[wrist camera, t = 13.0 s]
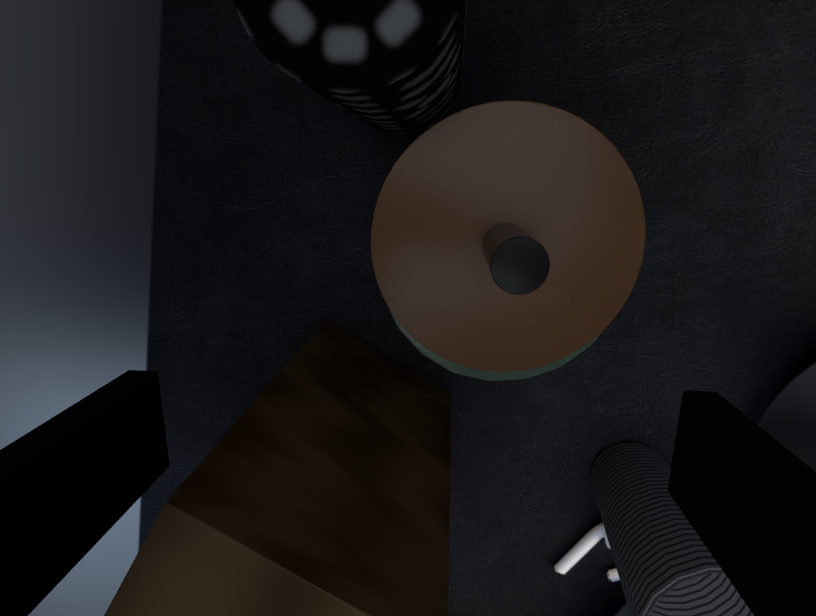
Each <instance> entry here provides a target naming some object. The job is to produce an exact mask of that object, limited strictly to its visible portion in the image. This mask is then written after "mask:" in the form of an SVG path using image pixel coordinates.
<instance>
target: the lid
mask: <svg viewBox="0 0 816 616" xmlns="http://www.w3.org/2000/svg"><path fill="white" fill-rule="evenodd" d="M645 229H646V223H645V215H644V207H643V202H642V199H641V195H640V191H639V188H638V185H637V183H636V181H635V178H634V176H633V174H632V171H631V169H630V168H629V166H628V165H627V163H626V161H625V160H624V158H623V156H622V155H621V154H620V152H619V151H618V150H617V149H616V148H615V146H614V145H613V144H612V143H611V142H610V140H609V139H607V138H606V137H605V136H604V135H603V134H602V133H601V132H600V131H599V130H597V129H596V128H595V127H594V126H592V125H591V124H589V123H588V122H586V121H585V120H583V119H582V118H580V117H578V116H576V115H574V114H572V113H569V112H567V111H565V110H563V109H560V108H557V107H554V106H550V105H547V104H543V103H537V102H531V101H518V100H505V101H496V102H488V103H484V104H480V105H476V106H472V107H468V108H466V109H464V110H461V111H459V112H456V113H454V114H451V115H449V116H448V117H446V118H444V119H442V120H441V121H439V122H437V123H435V124H434V125H433V126H431V127H430V128H429V129H427V130H426V131H425V132H423V133H422V134H421V135H419V136H418V137H417V138H416V139H415V140H414V141H413V142H412V143H411V144H410V145H409V146H408V147H407V148H406V149H405V151H404V152H403V153H402V155H401V156H400V157H399V159H398V160H397V161H396V162H395V164H394V165H393V167H392V169H391V171H390V172H389V174H388V176H387V177H386V179H385V181H384V184H383V186H382V188H381V191H380V193H379V196H378V199H377V202H376V206H375V210H374V213H373V220H372V227H371V254H372V263H373V268H374V272H375V276H376V280H377V283H378V286H379V288H380V291H381V293H382V296H383V298H384V300H385V302H386V303H387V305H388V307H389V309H390V311H391V312H392V314H393V315H394V316H395V318H396V319H397V320H398V322H399V323H400V324H401V326H402V327H403V328H404V329H405V330H406V331H407V332H408V333H409V334H410V335H411V336H412V337H413V338H414V339H415V340H417V341H418V342H419V343H420V344H422V345H423V346H424V347H425V348H427V349H429V350H430V351H432V352H433V353H435V354H437V355H438V356H440V357H442V358H445V359H447V360H449V361H451V362H453V363H456V364H459V365H462V366H466V367H469V368H473V369H479V370H484V371H496V372H510V371H522V370H527V369H533V368H538V367H541V366H544V365H547V364H551V363H554V362H556V361H558V360H560V359H562V358H565V357H567V356H569V355H571V354H572V353H574V352H576V351H577V350H579V349H581V348H582V347H584V346H585V345H587V344H588V343H589V342H590V341H592V340H593V339H594V338H596V337H597V336H598V335H599V334H600V333H601V332H602V331H603V330H604V329H605V328H606V327H607V326H608V325H609V324H610V323H611V322H612V320H613V319H614V318H615V317H616V315H617V314H618V313H619V311H620V310H621V309H622V307H623V305H624V304H625V302H626V300H627V299H628V297H629V295H630V294H631V291H632V289H633V287H634V284H635V282H636V280H637V278H638V274H639V271H640V267H641V264H642V260H643V254H644V247H645Z"/></svg>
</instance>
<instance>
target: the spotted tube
mask: <svg viewBox="0 0 816 616" xmlns="http://www.w3.org/2000/svg"><path fill="white" fill-rule="evenodd" d="M233 2H234V5H235V8H236V11H237V13H238V15H239V17H240V19H241V21H242V23H243V25H244V27H245V29H246V31H247V33H248V35H249V36H250V38H251V39H252V40H253V42H254V43H255V44H256V46H257V47H258V48H259V50H260V51H261V52H262V54H263V55H264V56H265V57H267V58H268V59H269V60H270V61H271V62H272V63H273V64H274V65H275V66H276V67H277V68H278V69H280V70H281V71H282V72H284V73H286V74H287V75H289V76H290V77H292V78H294V79H295V80H297V81H299V82H300V83H302V84H304V85H305V86H307V87H309V88H310V89H312V90H314V91H315V92H317V93H319V94H320V95H322V96H324V97H325V98H327V99H329V100H330V101H332V102H333V103H335V104H337V105H338V106H340V107H342V108H343V109H345V110H347V111H348V112H350V113H352V114H353V115H355V116H357V117H358V118H360V119H362V120H363V121H365V122H367V123H368V124H370V125H372V126H373V127H375V128H377V129H378V130H380V131H383V132H386V133H389V134H393V135H400V136H404V135H414V134H417V133H421V132H424V131H426V130H427V129H429V128H430V127H431V126H433V125H434V124H435V123H437V122H439V121H441V120H442V119H443V118H444V117H445V116H446V115H447V113H448V112H449V111H450V110H451V108H452V106H453V104H454V102H455V101H456V98H457V96H458V93H459V90H460V85H461V79H462V69H463V56H464V43H465V30H466V17H467V4H468V0H233Z"/></svg>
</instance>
